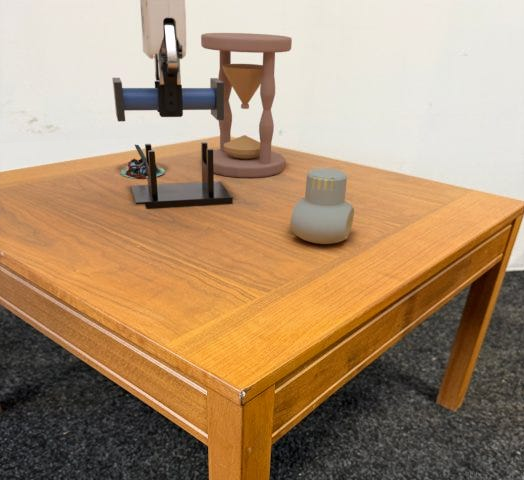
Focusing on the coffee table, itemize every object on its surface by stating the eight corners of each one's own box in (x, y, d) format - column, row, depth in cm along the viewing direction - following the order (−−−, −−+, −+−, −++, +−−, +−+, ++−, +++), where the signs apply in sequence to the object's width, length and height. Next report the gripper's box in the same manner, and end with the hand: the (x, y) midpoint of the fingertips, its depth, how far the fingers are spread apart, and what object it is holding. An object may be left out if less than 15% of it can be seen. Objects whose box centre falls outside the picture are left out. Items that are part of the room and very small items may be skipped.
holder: (136, 209, 94) (131, 155, 89) (131, 192, 102) (126, 141, 97) (232, 203, 98) (233, 151, 94) (220, 187, 106) (220, 139, 102)
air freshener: (304, 223, 91) (308, 161, 86) (353, 230, 89) (361, 167, 84) (285, 246, 82) (289, 179, 77) (340, 254, 80) (348, 186, 75)
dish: (170, 163, 111) (137, 139, 109) (150, 192, 110) (117, 168, 108) (166, 172, 118) (136, 150, 116) (147, 199, 118) (117, 177, 116)
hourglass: (191, 161, 122) (186, 32, 109) (258, 154, 130) (262, 33, 116) (227, 182, 110) (227, 38, 96) (300, 173, 117) (309, 39, 104)
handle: (117, 121, 74) (113, 82, 71) (116, 115, 78) (112, 77, 75) (224, 120, 77) (224, 82, 75) (217, 113, 81) (217, 78, 79)
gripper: (125, -45, 73) (137, 104, 83) (135, -53, 60) (148, 126, 70) (182, -42, 75) (187, 104, 85) (202, -49, 62) (206, 125, 72)
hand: (169, 113), depth 77 cm, fingers closed on handle, 2 cm apart
